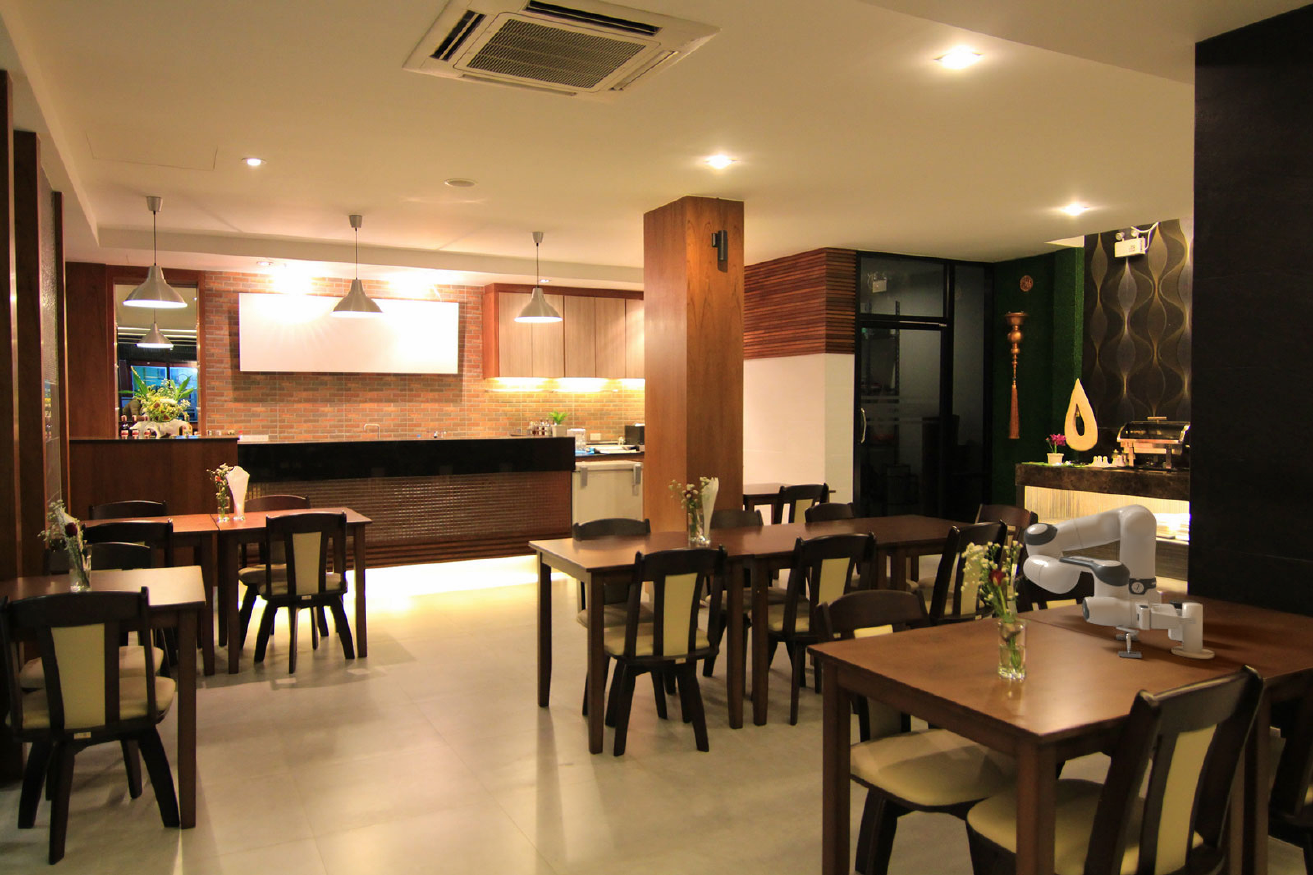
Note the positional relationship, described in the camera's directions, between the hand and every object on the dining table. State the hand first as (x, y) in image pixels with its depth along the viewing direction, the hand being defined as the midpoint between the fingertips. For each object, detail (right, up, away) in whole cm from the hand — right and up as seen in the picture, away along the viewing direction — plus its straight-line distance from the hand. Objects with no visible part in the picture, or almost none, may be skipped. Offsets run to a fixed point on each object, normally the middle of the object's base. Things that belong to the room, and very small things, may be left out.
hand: (1194, 617), depth 268 cm
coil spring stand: (-16, -11, +8) cm, 20 cm away
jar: (+7, -11, +18) cm, 22 cm away
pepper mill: (0, -10, 0) cm, 10 cm away
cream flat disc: (0, -11, 0) cm, 11 cm away
